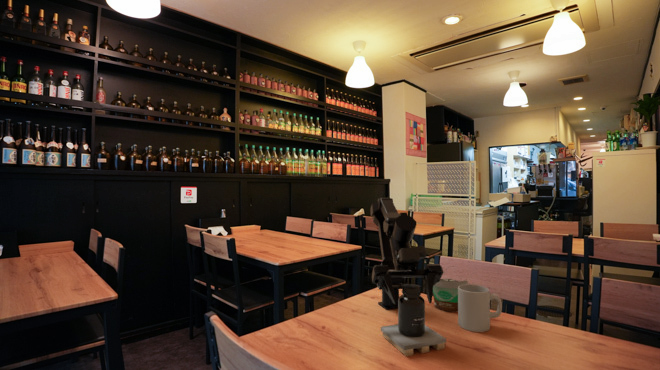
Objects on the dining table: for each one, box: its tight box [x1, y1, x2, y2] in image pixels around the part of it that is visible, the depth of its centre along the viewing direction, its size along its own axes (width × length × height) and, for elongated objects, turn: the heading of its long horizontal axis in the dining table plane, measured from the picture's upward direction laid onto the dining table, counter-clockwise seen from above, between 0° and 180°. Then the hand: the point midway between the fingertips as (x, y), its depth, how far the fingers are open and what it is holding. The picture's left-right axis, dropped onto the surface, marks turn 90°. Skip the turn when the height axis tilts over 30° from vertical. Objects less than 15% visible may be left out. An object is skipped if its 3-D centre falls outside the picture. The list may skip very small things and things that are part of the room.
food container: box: [432, 278, 469, 313], centre depth 110 cm, size 12×6×10 cm, turn 68°
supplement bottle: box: [397, 283, 426, 337], centre depth 88 cm, size 7×7×12 cm
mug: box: [457, 283, 503, 333], centre depth 97 cm, size 12×8×11 cm
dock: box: [380, 323, 447, 357], centre depth 87 cm, size 12×12×2 cm
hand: (413, 303), depth 86 cm, fingers open, 9 cm apart
